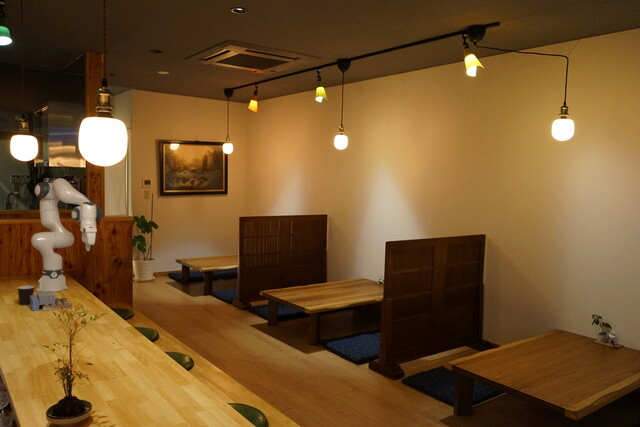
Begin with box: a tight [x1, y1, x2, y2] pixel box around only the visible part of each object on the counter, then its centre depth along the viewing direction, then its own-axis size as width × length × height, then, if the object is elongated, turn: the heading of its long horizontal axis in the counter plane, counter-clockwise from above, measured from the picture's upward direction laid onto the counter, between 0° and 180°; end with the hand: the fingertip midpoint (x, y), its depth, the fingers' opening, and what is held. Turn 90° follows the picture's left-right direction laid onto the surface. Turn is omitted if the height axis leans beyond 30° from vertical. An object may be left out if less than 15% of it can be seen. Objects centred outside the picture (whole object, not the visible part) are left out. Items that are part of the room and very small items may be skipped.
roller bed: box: [41, 297, 73, 312], centre depth 294 cm, size 18×15×3 cm
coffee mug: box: [17, 285, 35, 306], centre depth 297 cm, size 12×9×10 cm
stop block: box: [29, 294, 40, 312], centre depth 287 cm, size 14×3×6 cm, turn 36°
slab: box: [36, 291, 56, 306], centre depth 291 cm, size 12×8×5 cm, turn 36°
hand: (87, 250), depth 309 cm, fingers closed
